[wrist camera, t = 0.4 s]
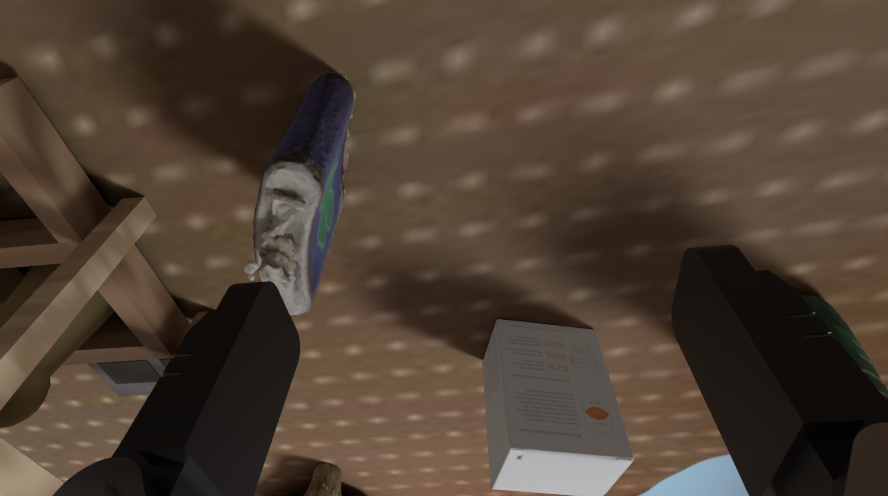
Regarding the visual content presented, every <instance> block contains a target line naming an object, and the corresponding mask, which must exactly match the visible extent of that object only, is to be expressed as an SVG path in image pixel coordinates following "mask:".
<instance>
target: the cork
mask: <svg viewBox="0 0 888 496" xmlns="http://www.w3.org/2000/svg"><path fill="white" fill-rule="evenodd" d="M59 266H60V264H49V265H37V266H32V267H31V268H30V269H29V271H28V272H27V273H26V275H25V276H24V278H23V279H22V280H21V282H20V283H19V285H18V286H17V287H16V289H15V290H14V292H13V293H12V294H11V296H10V297H9V298H8V300H7V301H6V303H5V304H4V305H3V307H2V308H1V310H0V328H1V327H2V326H3V325H4V324H5V323H6V322H7V321H8V320H9V319H10V318H11V317H12V316H13V315H14V313H15V312H16V311H17V310H18V309H19V308H20V307H21V306H22V305H23V304H24V303H25V302H26V301H27V300H28V299H29V297H30V296H31V295H32V294H33V293H34V292H35V291H36V290H37V289H38V288H39V287H40V286H41V285H42V284H43V283H44V282H45V280H46V279H47V278H48V277H49V276H50V275H51V274H52V273H53V272H54V271H55V270H56V269H57V268H58V267H59ZM114 312H115V311H114V309H113V308H112V307H111V306H110V304H109V303H108V302H107V301H106V300H105V298H104V297H103V296H102V295H101V294H100V292H99V291H98V290H97V291H96V292H95V293H94V295H93V296H92V297H91V298H90V300H89V301H88V302H87V303H86V305H85V306H84V307H83V308H82V310H81V311H80V312H79V313H78V315H77V316H76V317H75V318H74V320H73V321H72V322H71V323H70V325H69V326H68V327H67V328H66V329H65V331H64V332H63V333H62V334H61V336H60V337H59V338H58V339H57V341H56V342H55V343H54V344H53V346H52V347H51V348H50V349H49V351H48V352H47V353H46V354H45V356H44V357H43V358H42V359H41V361H40V362H39V363H38V364H37V366H36V367H35V368H34V369H33V371H32V372H31V373H30V374H29V376H28V377H27V378H26V379H25V380H24V382H23V383H22V384H21V385H20V387H19V388H18V389H17V390H16V392H15V393H14V394H13V395H12V397H11V398H10V399H9V400H8V402H7V403H6V404H5V405H4V407H3V408H2V409H1V410H0V428H3V427H9V426H14V425H16V424H17V423H19V422H21V421H23V420H25V419H27V418H28V417H30V416H31V415H32V414H33V413H35V412H36V411H37V410H38V409H39V407H40V406H41V405H42V403H43V402H44V400H45V398H46V395H47V393H48V390H49V388H50V385H51V384H50V376H51V375H52V374H53V373H54V372H55V371H56V370H57V369H58V368H59V367H60V366H61V365H62V364H63V363H64V362H65V361H66V360H67V359H68V358H69V357H70V356H71V355H72V354H73V353H74V352H75V351H76V350H77V349H78V348H79V347H80V346H81V345H82V344H83V343H84V342H85V341H86V340H87V339H88V338H89V337H90V336H91V335H92V334H93V333H94V332H95V331H96V330H97V329H98V328H99V327H100V326H101V325H102V324H103V323H104V322H105V321H106V320H107V319H108V318H109V317H110V316H111V315H112V314H113V313H114Z"/></svg>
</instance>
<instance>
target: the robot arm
mask: <svg viewBox="0 0 888 496" xmlns="http://www.w3.org/2000/svg"><path fill="white" fill-rule="evenodd" d="M672 325H673V330H674V333H675V336H676V339H677V341H678V343H679V346H680V348H681V350H682V352H683V354H684V356H685V358H686V361H687V363H688V365H689V367H690V369H691V371H692V374H693V376H694V378H695V380H696V382H697V384H698V386H699V389H700V391H701V393H702V395H703V397H704V399H705V402H706V404H707V406H708V408H709V410H710V412H711V414H712V417H713V419H714V421H715V423H716V425H717V427H718V430H719V432H720V434H721V436H722V438H723V440H724V442H725V445H726V447H727V449H728V451H729V453H730V455H731V458H732V459H733V462H734V464H735V466H736V468H737V470H738V473H739V475H740V477H741V479H742V481H743V483H744V485H745V488H746V490H747V492H748V494H749V496H888V402H887V400H886V399H885V398H884V397H883V395H882V394H881V393H880V392H879V391H878V389H877V388H876V387H875V386H874V384H873V383H872V382H871V381H870V379H869V378H868V377H867V376H866V374H865V373H864V372H863V371H862V370H861V368H860V367H859V366H858V365H857V363H856V362H855V361H854V360H853V358H852V357H851V356H850V355H849V354H848V352H847V351H846V350H845V349H844V347H843V346H842V345H841V344H840V342H839V341H838V340H837V339H836V338H832V336H831V331H830V330H829V329H828V328H827V326H826V325H825V324H824V323H823V321H822V320H821V319H820V318H819V317H817V318H816V316H815V312H814V310H813V309H812V308H811V307H810V305H809V304H808V303H807V302H806V300H805V299H804V298H803V297H802V295H801V294H800V293H799V292H798V291H797V289H795V288H794V287H792V286H791V285H789V284H788V283H786V282H785V281H783V280H782V279H780V278H779V277H777V276H776V275H774V274H773V273H771V272H770V271H768V270H765V271H755V270H754V269H753V267H752V266H751V265H750V263H749V262H748V261H747V259H746V258H745V257H744V255H743V254H742V253H741V251H740V250H739V249H738V248H737V247H736V246H734V245H722V246H710V247H697V248H689V249H687V250H686V251H685V253H684V255H683V259H682V264H681V268H680V273H679V277H678V282H677V286H676V291H675V295H674V300H673V304H672ZM174 355H175V357H174V358H171V360H170V361H169V363H168V365H167V366H166V368H165V370H164V371H163V377H160V378H159V380H158V381H157V383H156V385H155V386H154V388H153V390H152V391H151V393H150V395H149V396H148V398H147V400H146V401H145V403H144V405H143V406H142V408H141V410H140V411H139V413H138V415H137V416H136V418H135V420H134V421H133V423H132V425H131V426H130V428H129V430H128V431H127V433H126V435H125V436H124V438H123V440H122V441H121V443H120V445H119V446H118V448H117V450H116V451H115V453H114V454H113V456H112V457H110V458H106V459H103V460H100V461H97V462H95V463H93V464H91V465H89V466H87V467H85V468H84V469H82V470H80V471H79V472H77V473H76V474H75V475H73V476H72V477H71V478H69V479H68V480H67V481H66V482H65V483H64V484H63V485H62V486H61V487H60V488H59V489H58V490H57V491H56V492H55V493H54V494H53V496H253V495H254V492H255V489H256V486H257V483H258V480H259V477H260V474H261V471H262V468H263V465H264V462H265V459H266V456H267V454H268V451H269V448H270V445H271V442H272V439H273V436H274V433H275V430H276V427H277V424H278V421H279V418H280V415H281V412H282V409H283V406H284V403H285V400H286V397H287V394H288V391H289V388H290V385H291V382H292V379H293V376H294V373H295V370H296V367H297V364H298V360H299V356H300V340H299V335H298V332H297V329H296V327H295V325H294V323H293V321H292V318H291V316H290V314H289V312H288V310H287V307H286V305H285V303H284V301H283V299H282V297H281V294H280V292H279V290H278V288H277V286H276V285H275V284H274V283H273V282H271V281H264V282H252V283H240V284H233V285H231V286H230V287H229V288H228V290H227V291H226V293H225V295H224V297H223V299H222V300H221V302H220V304H219V306H218V307H217V309H216V311H209V312H208V313H206V314H205V315H204V316H203V317H202V318H201V319H200V320H199V321H198V322H197V323H196V324H195V325H194V326H193V327H192V328H191V329H189V330H188V331H187V333H186V335H185V336H184V338H183V340H182V341H181V343H180V345H179V346H178V348H177V350H176V351H175V353H174Z"/></svg>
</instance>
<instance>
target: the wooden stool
mask: <svg viewBox="0 0 888 496" xmlns="http://www.w3.org/2000/svg"><path fill="white" fill-rule="evenodd" d="M156 216H157V215H156V214H155V212H154V210H153V209H152V207H151V206H150V204H149V202H148V201H147V199H146V198H145V196H144V197H134V198H123V199H122V200H121V201H120V202H119V203H118V204H117V205H116V206H115V207H114V208H113V209H112V210H111V211H110V212H109V213H108V214H107V216H106V217H105V218H104V219H103V220H102V221H101V222H100V223H99V224H98V225H97V226H96V227H95V228H94V229H93V230H92V232H91V233H90V234H89V235H88V236H87V237H86V238H85V239H84V240H83V241H82V242H81V243H80V244H79V245H78V246H77V247H76V249H75V250H74V251H73V252H72V253H71V254H70V255H69V256H68V257H67V258H66V259H65V260H64V261H63V262H62V263H61V264H60V266H59V267H58V268H57V269H56V270H55V271H54V272H53V273H52V274H51V275H50V276H49V277H48V278H47V279H46V280H45V282H44V283H43V284H42V285H41V286H40V287H39V288H38V289H37V290H36V291H35V292H34V293H33V294H32V295H31V296H30V297H29V299H28V300H27V301H26V302H25V303H24V304H23V305H22V306H21V307H20V308H19V309H18V310H17V311H16V312H15V313H14V315H13V316H12V317H11V318H10V319H9V320H8V321H7V322H6V323H5V324H4V325H3V326H2V327H1V328H0V410H1V409H2V408H3V407H4V405H5V404H6V403H7V402H8V400H9V399H10V398H11V397H12V395H13V394H14V393H15V392H16V390H17V389H18V388H19V387H20V385H21V384H22V383H23V382H24V380H25V379H26V378H27V377H28V376H29V374H30V373H31V372H32V371H33V369H34V368H35V367H36V366H37V364H38V363H39V362H40V361H41V359H42V358H43V357H44V356H45V354H46V353H47V352H48V351H49V349H50V348H51V347H52V346H53V344H54V343H55V342H56V341H57V339H58V338H59V337H60V336H61V334H62V333H63V332H64V331H65V329H66V328H67V327H68V326H69V325H70V323H71V322H72V321H73V320H74V318H75V317H76V316H77V315H78V313H79V312H80V311H81V310H82V308H83V307H84V306H85V305H86V303H87V302H88V301H89V300H90V298H91V297H92V296H93V295H94V293H95V292H96V291H97V290H98V288H99V287H100V286H101V285H102V283H103V282H104V281H105V280H106V279H107V277H108V276H109V275H110V274H111V272H112V271H113V270H114V269H115V267H116V266H117V265H118V264H119V262H120V261H121V260H122V259H123V257H124V256H125V255H126V254H127V252H128V251H129V250H130V249H131V247H132V246H133V245H134V244H135V242H136V241H137V240H138V239H139V237H140V236H141V235H142V234H143V232H144V231H145V230H146V229H147V228H148V226H149V225H150V224H151V223H152V221H153V220H154V219H155V218H156ZM208 312H209V311H204V312H197V314H196V316H195V317H194V319H193V321H192V323H191V325H190V326H189V328H188V330H189V329H191V328H192V327H193V326H194V325H195V324H196V323H197V322H198V321H199V320H200V319H201V318H202V317H203V316H204V315H205V314H206V313H208ZM188 330H187V331H188ZM186 333H187V332H186ZM185 335H186V334H185ZM183 338H184V337H183ZM182 340H183V339H182ZM174 357H175V355H173V357H172V358H174ZM170 360H171V358H166V359H150V360H134V361H117V362H101V363H88V364H89V365H90V366H91V368H92V369H93V370H94V371H95V372H96V373H97V374H98V375H99V376H100V377H101V378H102V379H103V380H104V381H105V382H106V383H107V384H108V385H109V386H110V387H111V388H112V389H113V390H114V391H115V392H116V393H117V394H118V395H119V396H129V395H147V394H150V393H151V391H152V390H153V388H154V386H155V385H156V383H157V381H158V380H159V378H160V377H163V371H164V370H165V368H166V366H167V365H168V363H169V361H170ZM63 484H64V483H63V482H61V481H60V480H59V479H57V478H56V477H54V476H53V475H52V474H50V473H49V472H47V471H46V470H45V469H43V468H42V467H40V466H39V465H38V464H36V463H35V462H33V461H32V460H31V459H29V458H28V457H26V456H25V455H24V454H22V453H21V452H19V451H18V450H17V449H15V448H14V447H12V446H11V445H10V444H8V443H7V442H6V441H4V440H3V439H1V438H0V496H53V494H54V493H55V492H56V491H57V490H58V489H59V488H60V487H61V486H62V485H63Z"/></svg>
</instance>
